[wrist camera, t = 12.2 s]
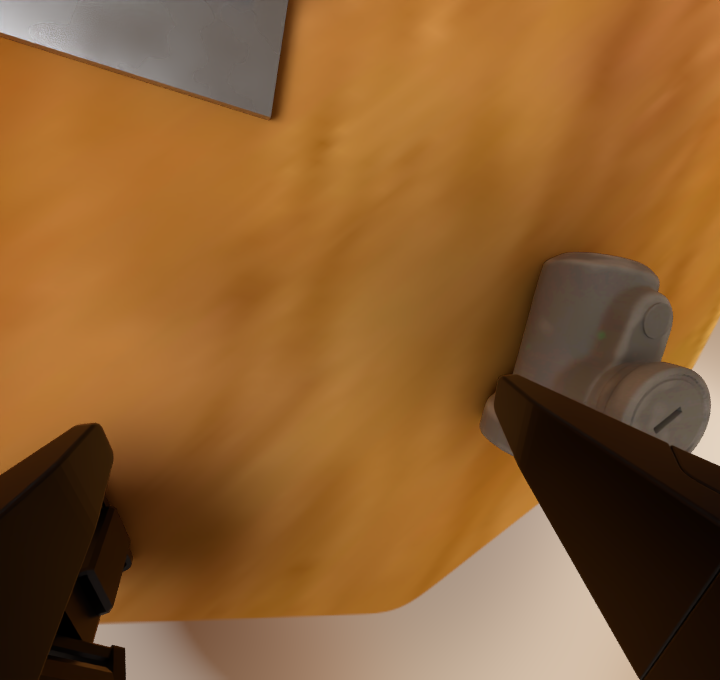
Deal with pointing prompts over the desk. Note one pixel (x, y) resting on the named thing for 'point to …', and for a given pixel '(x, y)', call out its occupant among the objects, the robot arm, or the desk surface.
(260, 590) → the desk surface
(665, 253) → the desk surface
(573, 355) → the pipe fitting
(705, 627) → the robot arm
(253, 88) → the mounting plate
